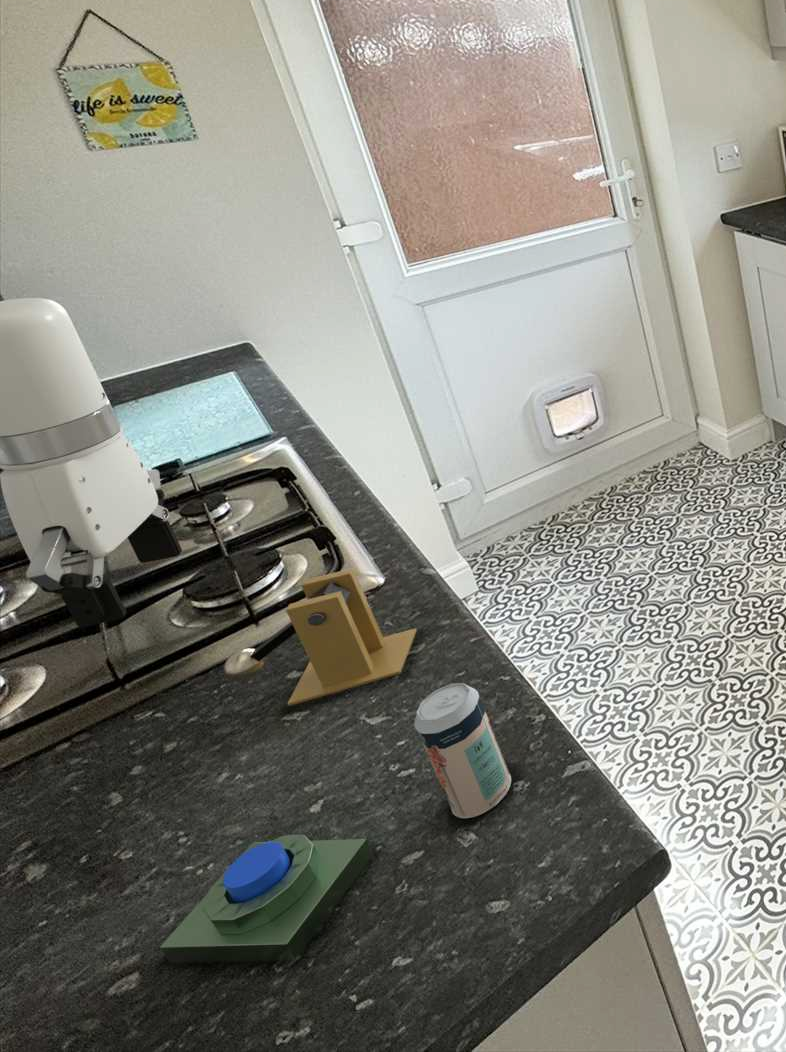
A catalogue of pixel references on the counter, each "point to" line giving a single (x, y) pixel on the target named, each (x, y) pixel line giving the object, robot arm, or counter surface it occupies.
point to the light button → (256, 871)
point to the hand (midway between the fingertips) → (134, 587)
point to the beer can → (463, 749)
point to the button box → (271, 907)
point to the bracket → (342, 639)
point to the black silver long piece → (268, 645)
